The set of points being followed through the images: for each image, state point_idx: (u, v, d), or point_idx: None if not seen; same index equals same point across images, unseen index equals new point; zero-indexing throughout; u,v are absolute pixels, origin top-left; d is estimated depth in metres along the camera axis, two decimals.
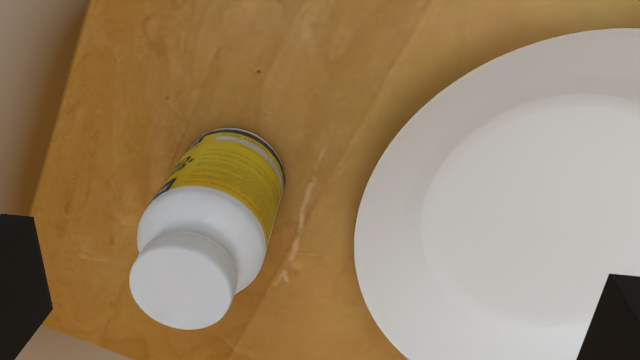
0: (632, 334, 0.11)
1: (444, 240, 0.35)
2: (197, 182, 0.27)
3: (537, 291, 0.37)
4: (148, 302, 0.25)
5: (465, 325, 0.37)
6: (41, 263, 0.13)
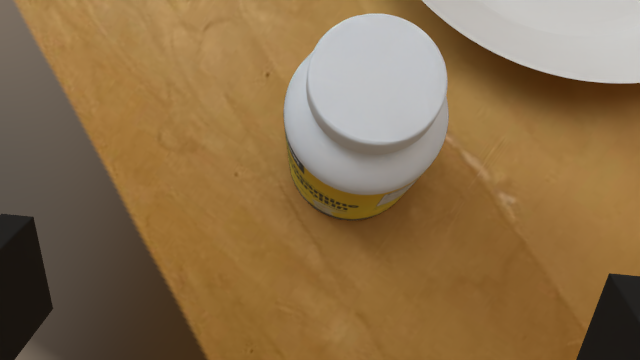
0: (631, 335, 0.11)
1: (538, 7, 0.31)
2: None
3: None
4: (373, 126, 0.18)
5: None
6: (41, 263, 0.13)
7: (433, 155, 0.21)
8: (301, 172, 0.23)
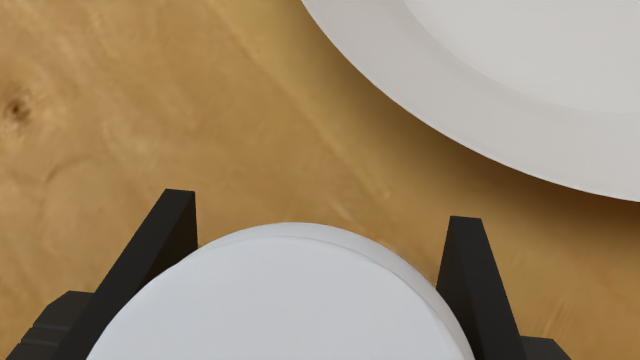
0: (455, 263, 0.13)
1: (579, 73, 0.19)
2: None
3: None
4: None
5: None
6: (195, 234, 0.15)
7: None
8: None
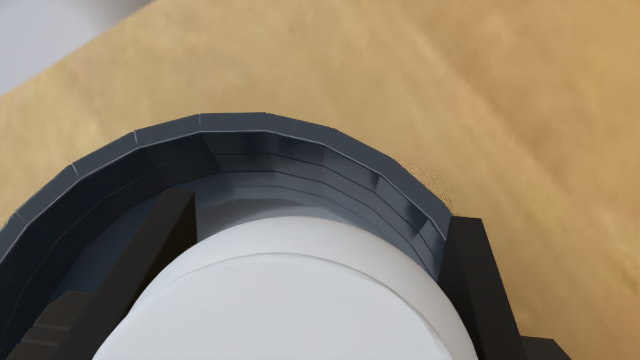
0: (456, 263, 0.13)
1: None
2: None
3: None
4: None
5: None
6: (195, 234, 0.15)
7: None
8: None
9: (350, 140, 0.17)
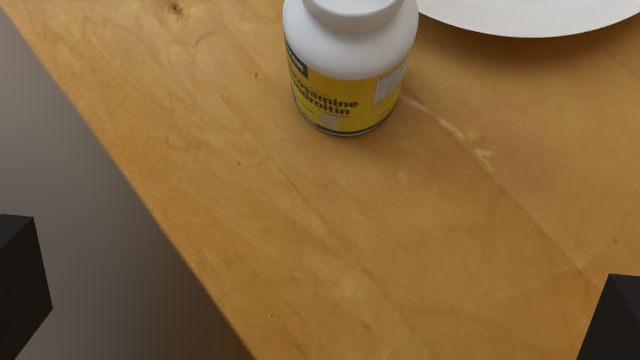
0: (632, 335, 0.11)
1: None
2: None
3: None
4: (356, 2, 0.22)
5: None
6: (41, 263, 0.13)
7: (410, 36, 0.25)
8: (305, 79, 0.27)
9: None
